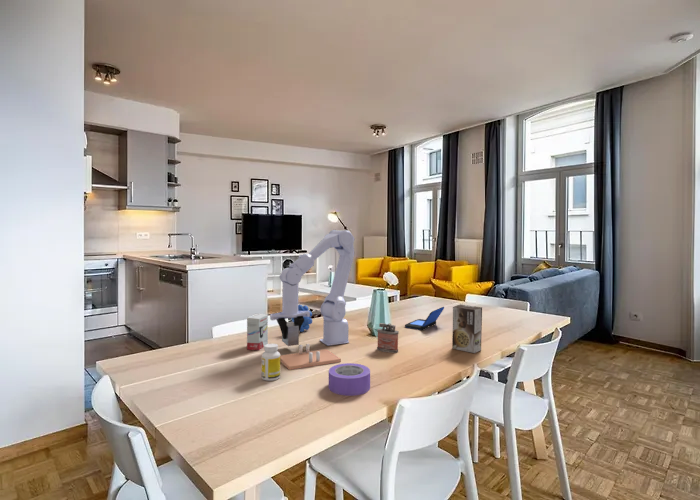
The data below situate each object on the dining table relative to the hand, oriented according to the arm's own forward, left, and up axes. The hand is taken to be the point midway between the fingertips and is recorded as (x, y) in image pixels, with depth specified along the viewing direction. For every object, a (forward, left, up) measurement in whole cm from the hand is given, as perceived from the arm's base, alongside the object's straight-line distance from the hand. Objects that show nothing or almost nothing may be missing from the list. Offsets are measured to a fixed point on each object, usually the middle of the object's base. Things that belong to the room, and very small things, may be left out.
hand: (290, 337), depth 146 cm
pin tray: (-2, +14, -4) cm, 15 cm away
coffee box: (-60, +27, -5) cm, 66 cm away
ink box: (+10, -8, -5) cm, 14 cm away
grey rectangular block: (0, 0, -2) cm, 2 cm away
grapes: (-13, -21, -5) cm, 25 cm away
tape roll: (-4, +40, -5) cm, 40 cm away
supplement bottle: (+14, +24, -5) cm, 28 cm away
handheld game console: (-67, -8, -5) cm, 68 cm away
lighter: (-32, +16, -5) cm, 36 cm away
